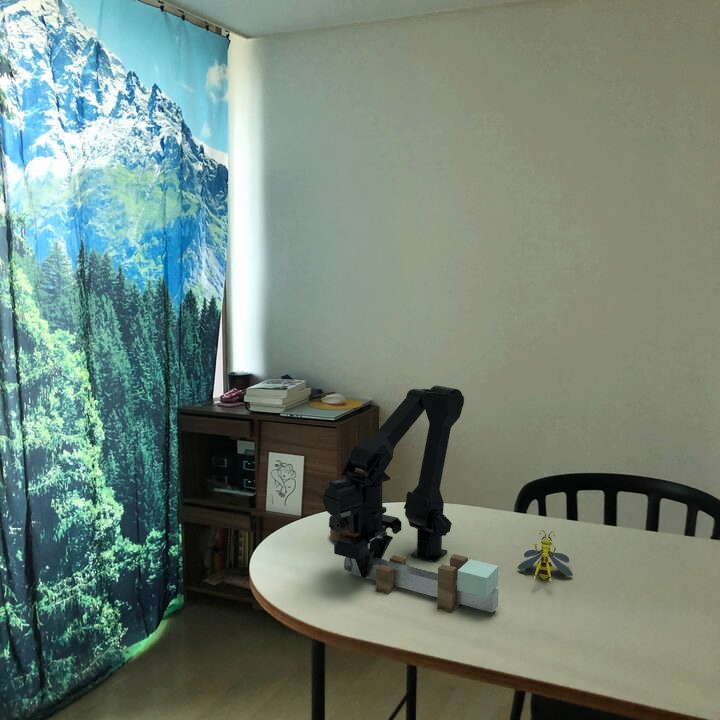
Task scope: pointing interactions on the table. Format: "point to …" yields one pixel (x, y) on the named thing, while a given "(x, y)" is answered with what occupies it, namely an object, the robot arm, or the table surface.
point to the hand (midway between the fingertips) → (369, 573)
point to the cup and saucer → (341, 534)
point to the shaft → (423, 582)
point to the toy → (545, 559)
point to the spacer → (477, 578)
